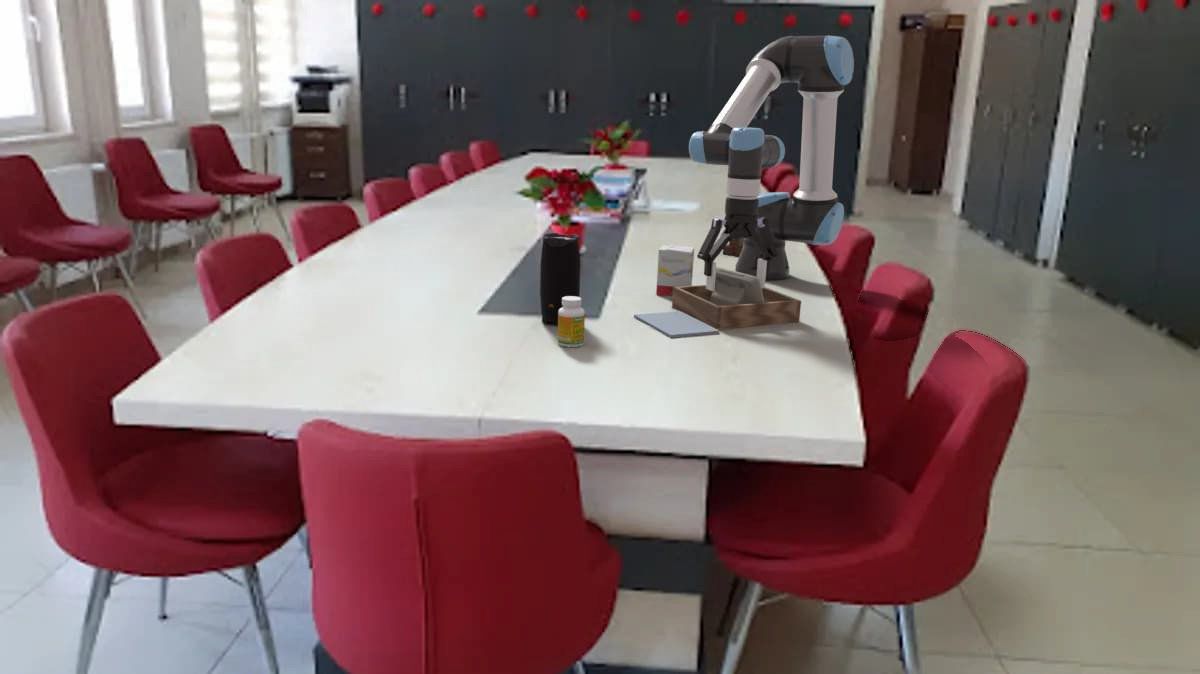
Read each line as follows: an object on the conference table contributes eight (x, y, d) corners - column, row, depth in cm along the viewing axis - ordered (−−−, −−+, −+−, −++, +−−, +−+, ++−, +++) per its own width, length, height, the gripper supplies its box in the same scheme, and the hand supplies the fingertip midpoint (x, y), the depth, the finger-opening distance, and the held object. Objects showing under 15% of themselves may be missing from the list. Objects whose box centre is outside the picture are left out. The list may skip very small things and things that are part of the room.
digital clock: (769, 321, 214) (773, 276, 211) (736, 325, 210) (739, 279, 208) (730, 305, 228) (733, 263, 225) (699, 308, 225) (701, 265, 222)
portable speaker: (558, 329, 202) (560, 240, 197) (531, 320, 208) (531, 234, 203) (587, 323, 208) (589, 236, 202) (560, 315, 214) (561, 230, 209)
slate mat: (680, 313, 219) (680, 311, 219) (719, 333, 203) (719, 330, 203) (633, 317, 214) (634, 314, 214) (670, 337, 198) (670, 335, 198)
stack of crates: (767, 255, 297) (769, 234, 295) (748, 262, 285) (750, 240, 283) (725, 250, 305) (726, 229, 303) (704, 256, 293) (706, 234, 291)
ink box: (688, 297, 235) (691, 251, 232) (655, 295, 237) (657, 249, 233) (692, 290, 243) (695, 245, 240) (660, 287, 245) (662, 243, 242)
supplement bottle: (574, 349, 188) (575, 302, 185) (552, 344, 191) (553, 298, 188) (588, 343, 192) (590, 297, 190) (567, 339, 195) (568, 293, 192)
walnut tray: (750, 301, 233) (751, 281, 232) (799, 321, 215) (801, 300, 213) (672, 307, 225) (673, 287, 223) (716, 329, 206) (717, 307, 205)
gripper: (779, 194, 220) (771, 282, 226) (686, 195, 210) (680, 287, 216) (797, 198, 214) (789, 289, 219) (702, 199, 204) (696, 294, 209)
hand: (735, 288), depth 218 cm, fingers open, 13 cm apart
